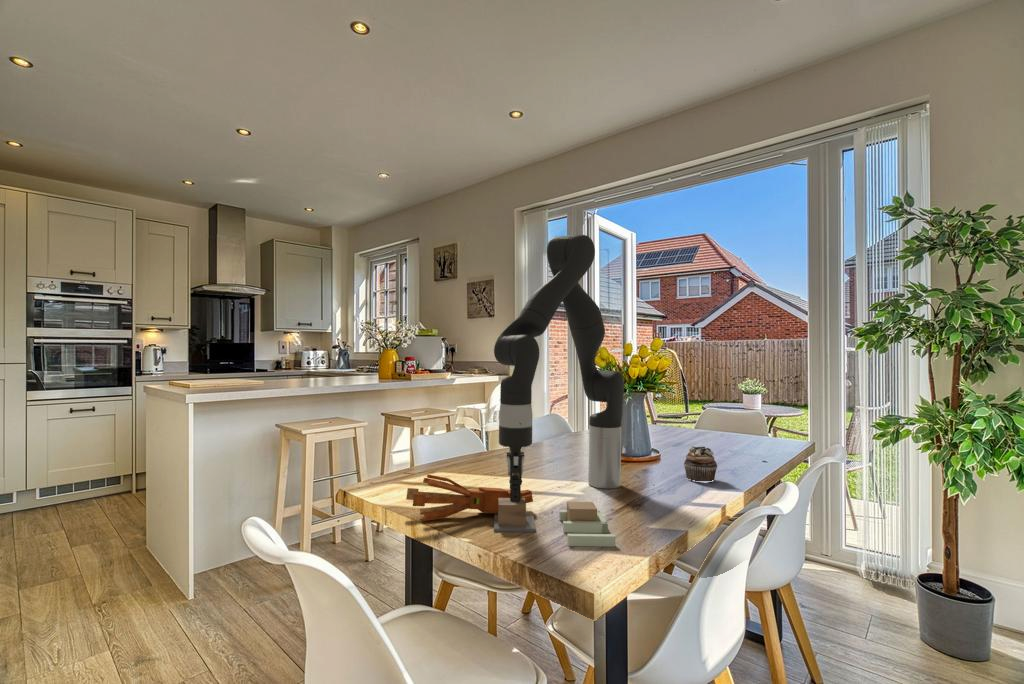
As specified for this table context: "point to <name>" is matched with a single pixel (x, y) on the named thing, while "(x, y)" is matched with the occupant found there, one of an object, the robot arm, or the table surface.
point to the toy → (458, 498)
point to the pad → (528, 528)
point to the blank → (511, 512)
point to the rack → (585, 525)
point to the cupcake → (700, 464)
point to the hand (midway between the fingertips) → (514, 495)
